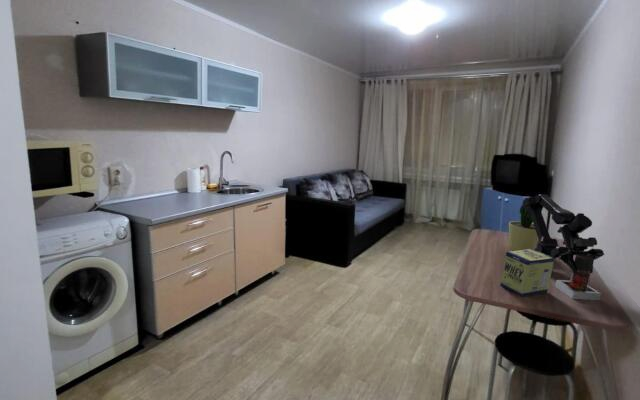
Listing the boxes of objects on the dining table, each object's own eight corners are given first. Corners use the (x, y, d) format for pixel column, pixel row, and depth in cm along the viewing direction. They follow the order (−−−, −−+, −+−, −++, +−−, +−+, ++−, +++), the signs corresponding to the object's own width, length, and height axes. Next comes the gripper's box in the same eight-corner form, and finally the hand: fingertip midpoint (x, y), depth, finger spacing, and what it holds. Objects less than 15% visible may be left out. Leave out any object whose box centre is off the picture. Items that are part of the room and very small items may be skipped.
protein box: (499, 285, 148) (505, 251, 144) (525, 281, 153) (532, 248, 150) (520, 297, 138) (528, 261, 135) (548, 292, 144) (555, 257, 140)
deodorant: (564, 286, 147) (572, 253, 143) (577, 286, 147) (585, 253, 144) (575, 293, 141) (584, 259, 138) (589, 293, 142) (597, 259, 138)
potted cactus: (509, 243, 204) (518, 194, 197) (539, 251, 193) (549, 199, 187) (500, 249, 193) (510, 197, 186) (531, 257, 182) (542, 202, 176)
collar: (555, 286, 150) (556, 279, 149) (580, 287, 150) (581, 281, 149) (572, 298, 139) (573, 291, 139) (599, 300, 139) (600, 293, 138)
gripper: (560, 228, 142) (573, 263, 134) (606, 230, 142) (621, 266, 134) (545, 239, 152) (556, 273, 144) (588, 242, 152) (601, 276, 143)
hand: (583, 272), depth 141 cm, fingers closed on deodorant, 6 cm apart
